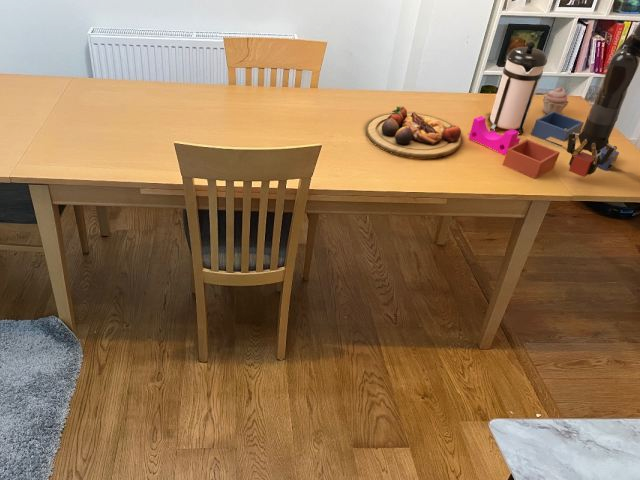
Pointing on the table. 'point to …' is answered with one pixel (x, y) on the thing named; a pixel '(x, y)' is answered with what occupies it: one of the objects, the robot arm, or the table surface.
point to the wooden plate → (414, 135)
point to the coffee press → (517, 87)
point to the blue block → (610, 161)
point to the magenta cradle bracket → (493, 136)
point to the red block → (581, 164)
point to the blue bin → (556, 127)
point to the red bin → (530, 158)
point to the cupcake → (555, 101)
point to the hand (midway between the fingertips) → (580, 170)
